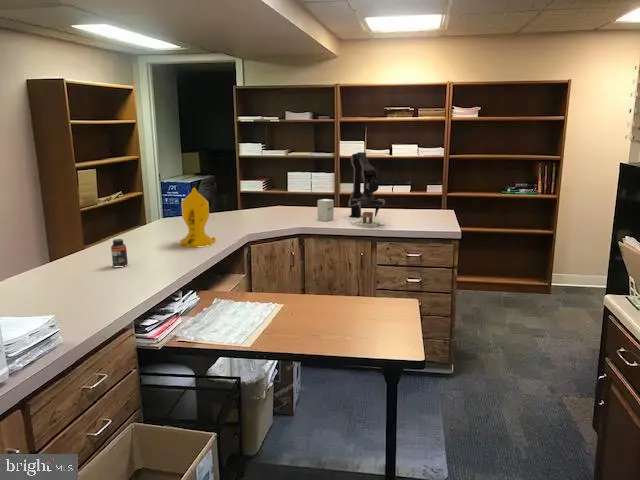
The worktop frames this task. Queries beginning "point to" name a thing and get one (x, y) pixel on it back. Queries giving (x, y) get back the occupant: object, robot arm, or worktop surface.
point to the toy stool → (367, 216)
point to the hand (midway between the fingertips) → (367, 216)
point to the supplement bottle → (119, 253)
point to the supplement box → (325, 210)
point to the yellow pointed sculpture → (196, 220)
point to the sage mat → (367, 223)
